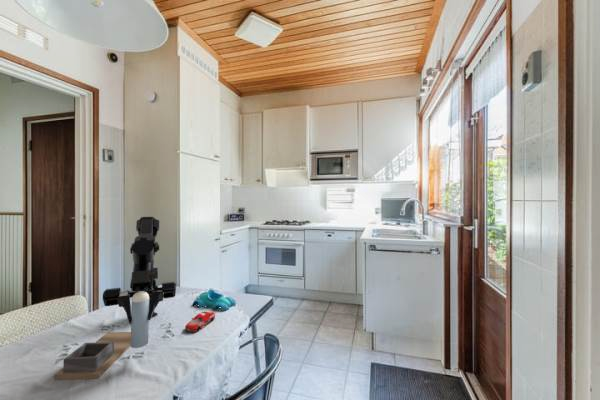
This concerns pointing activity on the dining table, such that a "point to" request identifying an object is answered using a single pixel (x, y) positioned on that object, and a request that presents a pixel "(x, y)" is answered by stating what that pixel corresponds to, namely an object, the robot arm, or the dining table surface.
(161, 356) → the dining table surface
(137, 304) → the post
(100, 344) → the board
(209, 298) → the toy car
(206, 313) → the race car
